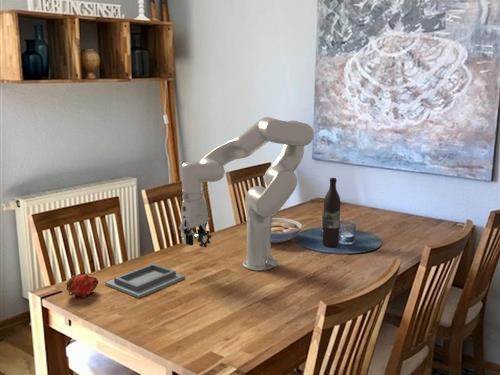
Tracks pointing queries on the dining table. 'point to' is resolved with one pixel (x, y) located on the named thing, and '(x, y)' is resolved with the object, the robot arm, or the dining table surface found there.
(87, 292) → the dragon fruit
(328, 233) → the wine bottle
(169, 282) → the rimmed tray
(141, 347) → the dining table surface
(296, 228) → the ramen bowl
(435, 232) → the dining table surface
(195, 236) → the valve
